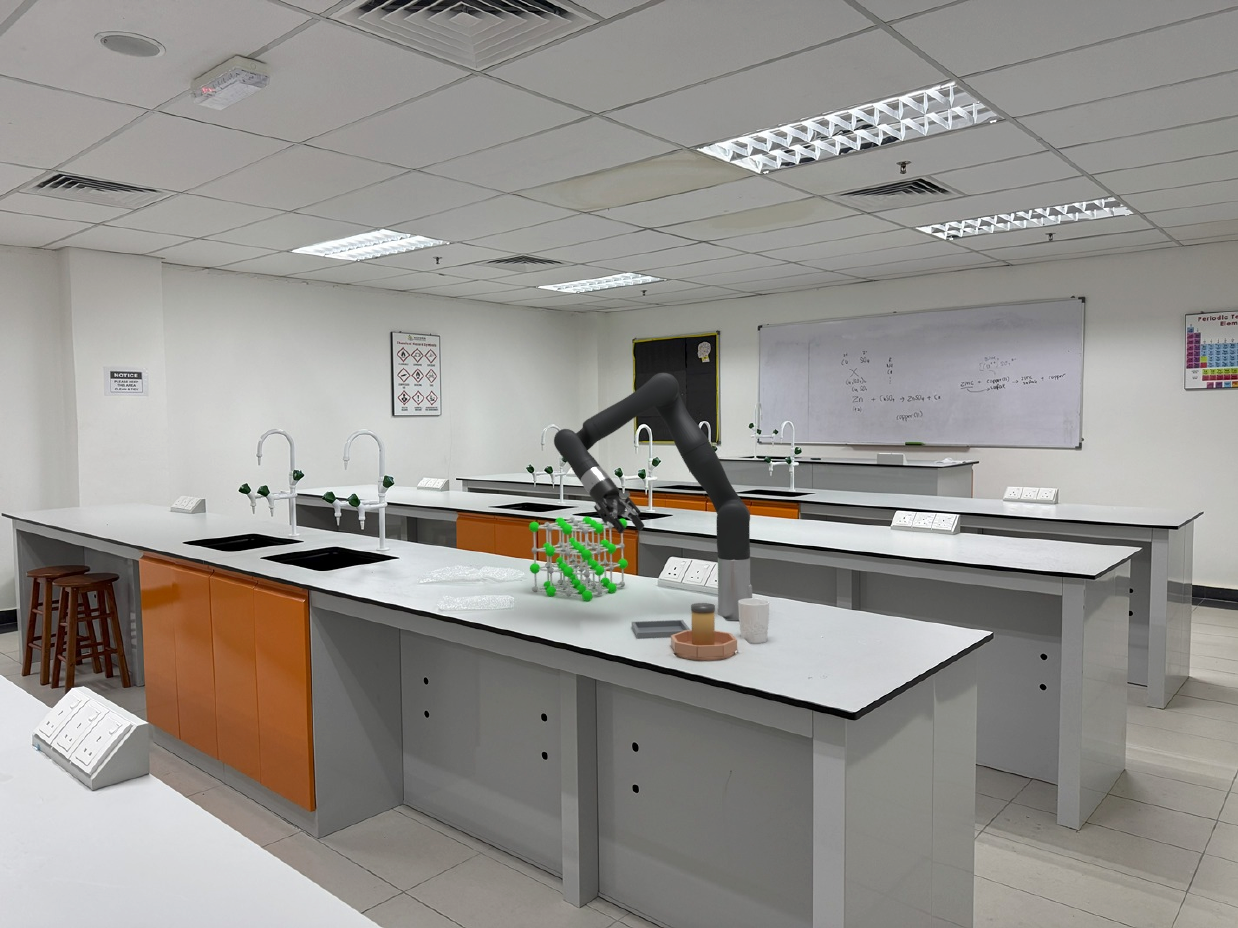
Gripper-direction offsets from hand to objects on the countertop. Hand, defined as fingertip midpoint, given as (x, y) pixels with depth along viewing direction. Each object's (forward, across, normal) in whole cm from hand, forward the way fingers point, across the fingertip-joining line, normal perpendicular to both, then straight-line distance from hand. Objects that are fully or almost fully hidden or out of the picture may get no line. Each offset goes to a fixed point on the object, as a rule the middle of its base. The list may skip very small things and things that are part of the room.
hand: (632, 529), depth 223 cm
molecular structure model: (-12, +30, +51) cm, 60 cm away
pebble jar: (+38, -8, -1) cm, 39 cm away
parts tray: (+26, -2, +12) cm, 29 cm away
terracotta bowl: (+39, -8, -1) cm, 40 cm away
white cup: (+42, +8, -4) cm, 43 cm away
